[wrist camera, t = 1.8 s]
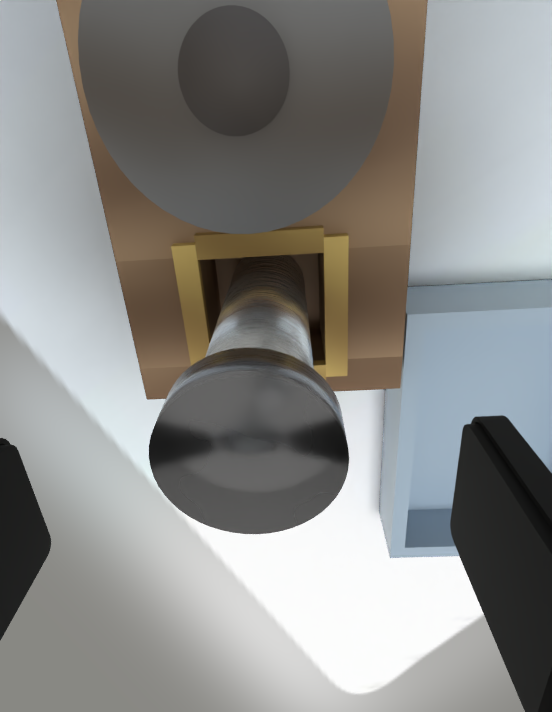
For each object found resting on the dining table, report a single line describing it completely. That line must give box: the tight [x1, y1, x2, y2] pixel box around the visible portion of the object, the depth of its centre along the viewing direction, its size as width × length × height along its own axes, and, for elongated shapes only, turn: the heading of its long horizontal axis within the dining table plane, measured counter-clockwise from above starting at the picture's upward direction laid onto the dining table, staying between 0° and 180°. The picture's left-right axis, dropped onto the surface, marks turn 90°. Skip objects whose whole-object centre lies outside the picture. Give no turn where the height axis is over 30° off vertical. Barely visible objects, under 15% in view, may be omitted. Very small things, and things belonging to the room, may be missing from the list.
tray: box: [379, 279, 552, 558], centre depth 22 cm, size 13×9×3 cm
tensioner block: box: [56, 0, 428, 399], centre depth 15 cm, size 14×10×8 cm
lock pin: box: [149, 255, 349, 534], centre depth 14 cm, size 4×4×11 cm
